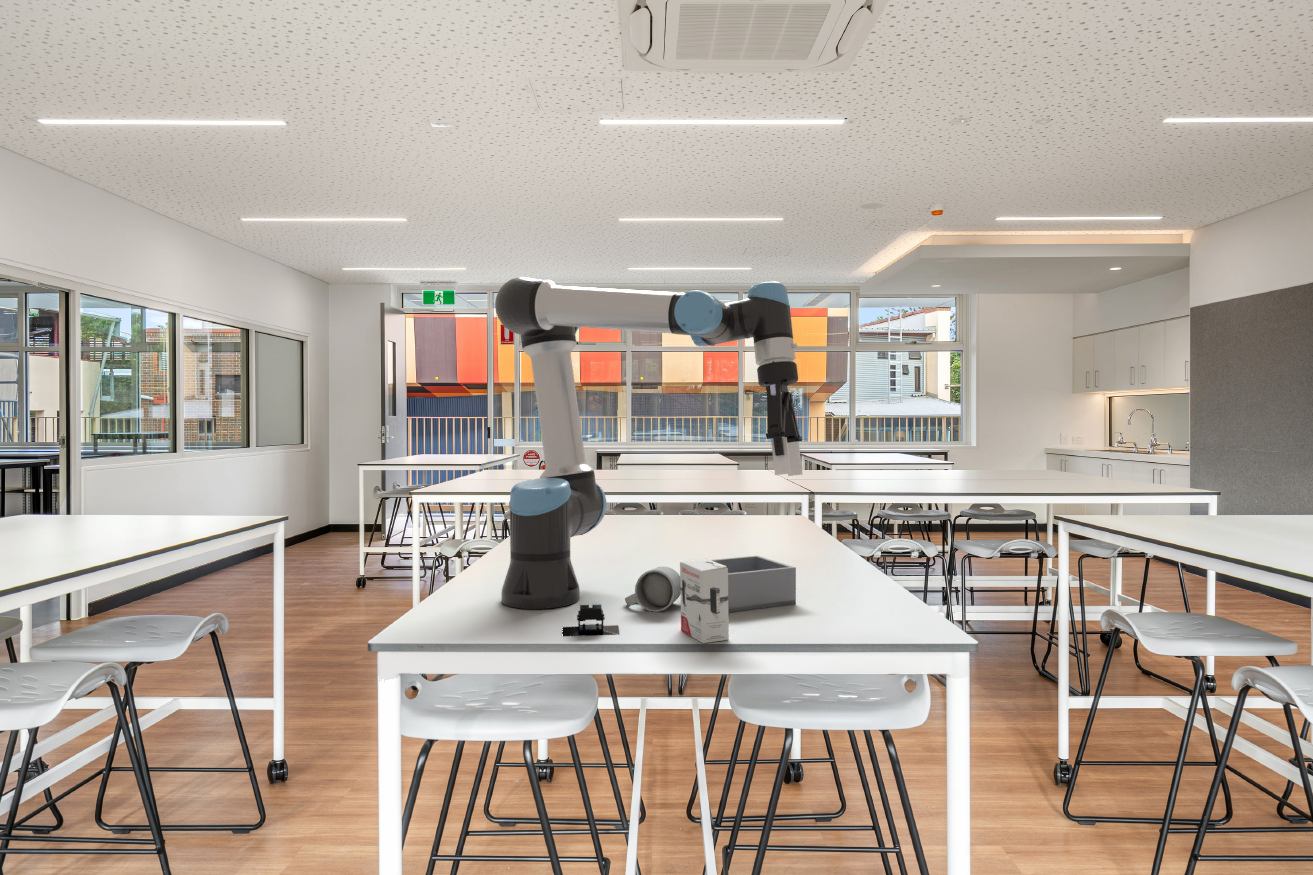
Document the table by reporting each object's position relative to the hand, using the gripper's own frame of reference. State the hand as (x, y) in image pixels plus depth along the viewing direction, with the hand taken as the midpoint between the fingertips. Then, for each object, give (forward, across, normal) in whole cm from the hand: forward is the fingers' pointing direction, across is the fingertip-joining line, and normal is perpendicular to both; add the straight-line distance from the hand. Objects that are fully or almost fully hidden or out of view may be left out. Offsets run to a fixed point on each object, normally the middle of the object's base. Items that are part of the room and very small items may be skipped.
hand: (789, 475), depth 136 cm
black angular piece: (+24, -25, +32) cm, 47 cm away
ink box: (+25, -21, +14) cm, 35 cm away
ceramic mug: (+22, -6, +27) cm, 36 cm away
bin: (+23, +3, +13) cm, 27 cm away
